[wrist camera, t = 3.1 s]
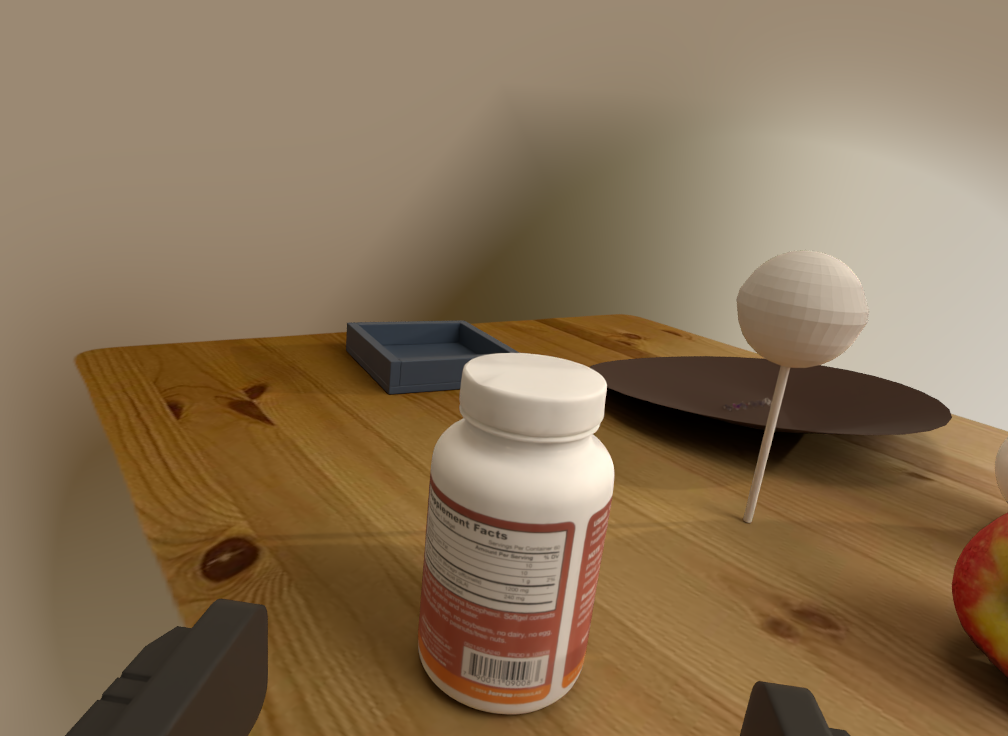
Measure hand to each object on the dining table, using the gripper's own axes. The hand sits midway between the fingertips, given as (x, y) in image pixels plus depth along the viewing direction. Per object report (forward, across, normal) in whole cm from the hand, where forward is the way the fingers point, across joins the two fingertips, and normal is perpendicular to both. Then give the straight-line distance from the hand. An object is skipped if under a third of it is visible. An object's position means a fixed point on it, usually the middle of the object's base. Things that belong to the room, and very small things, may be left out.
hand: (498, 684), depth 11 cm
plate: (+45, -18, +9) cm, 50 cm away
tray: (+45, +10, +9) cm, 47 cm away
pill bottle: (+11, 0, +9) cm, 15 cm away
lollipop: (+25, -12, +9) cm, 29 cm away
